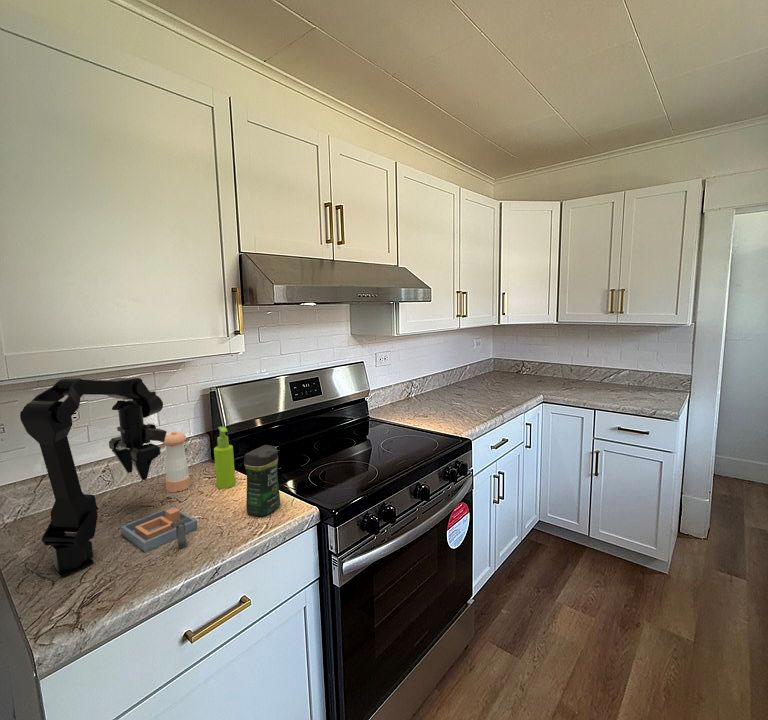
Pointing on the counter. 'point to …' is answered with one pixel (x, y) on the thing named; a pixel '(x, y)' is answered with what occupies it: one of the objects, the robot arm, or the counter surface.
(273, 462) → the coffee jar
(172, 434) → the pepper shaker
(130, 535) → the tray
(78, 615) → the counter surface
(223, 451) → the soap dispenser
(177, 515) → the tan rectangular frame
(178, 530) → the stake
